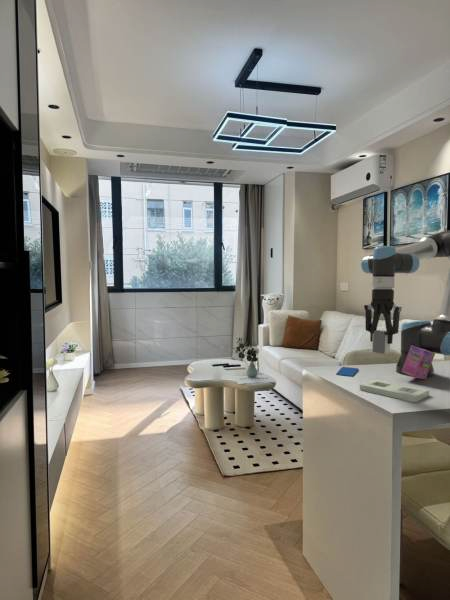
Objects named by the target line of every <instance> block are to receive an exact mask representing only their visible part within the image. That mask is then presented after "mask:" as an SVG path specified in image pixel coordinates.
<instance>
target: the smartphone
mask: <svg viewBox="0 0 450 600" xmlns="http://www.w3.org/2000/svg"><path fill="white" fill-rule="evenodd" d="M358 371H359V368H358V367H349V366H348V367H347V366H342V367H340V369H339V370H338V371H337V372H336V373H335V375H336V376H343V377H353V378H354V376H355V375H356V374H357V372H358Z"/></svg>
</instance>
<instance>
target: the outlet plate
mask: <svg viewBox="0 0 450 600" xmlns="http://www.w3.org/2000/svg"><path fill="white" fill-rule="evenodd" d="M359 391H363V392H367V393H372V394H376V395H381V396H386V397H389V398H393V399H394V398H395V399H398V400H402V401H407V402H411V403H417V402H419V401H421V400H423V399H425V398H427V397H429V396H430V389H427V388H421V387H416V386H411V385H406V384H401V383H396V382H391V381H385V380H382V379H376V378H375V379H373V380H369V381H366V382H364V383H361V384H359Z"/></svg>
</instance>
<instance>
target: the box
mask: <svg viewBox="0 0 450 600" xmlns="http://www.w3.org/2000/svg"><path fill="white" fill-rule="evenodd" d="M435 355H436V353H433V352H430V351H427V350H424V349H421V348H418V347H415V346H412V345H411V348H410V350H409V353H408V356H407V358H406V361H405V364H404V366H403V369H402V373H405V374H407V375H406V376H409V377H412V378H417V379H419V380H420V379H422V380H426V379H427V377H428V376H427V374H428V371H429V368H430V366H431V363H432V364H433V360H434V357H435ZM405 374H404V375H405Z"/></svg>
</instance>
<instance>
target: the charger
mask: <svg viewBox="0 0 450 600" xmlns="http://www.w3.org/2000/svg"><path fill="white" fill-rule="evenodd" d="M386 334H387V330H384V329H377V330H375V331H374V335H373V351H372V352H373V353H377V354H385V353H384V347H385V335H386Z"/></svg>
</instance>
